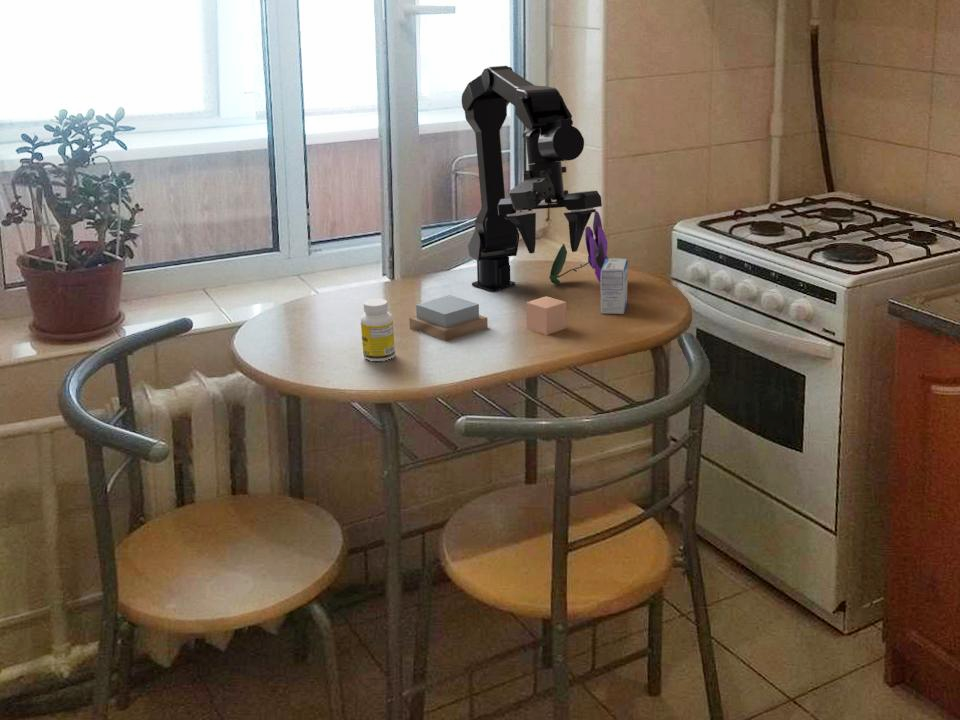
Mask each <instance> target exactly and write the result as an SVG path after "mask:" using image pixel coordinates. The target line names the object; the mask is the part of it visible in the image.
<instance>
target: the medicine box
mask: <svg viewBox="0 0 960 720" xmlns="http://www.w3.org/2000/svg"><path fill="white" fill-rule="evenodd" d="M608 258H609V257H608ZM628 269H629V260H628V258H619V257H617V258H615V257H614V258H612V257H611V258H609V259H605V262H604V265H603V267H602V270H601V282H600V314H604V315H605V314H607V315H624V314H625V312H626V309H627V308H626V307H627V304H628V276H629V275H628V274H629V273H628V271H629V270H628Z"/></svg>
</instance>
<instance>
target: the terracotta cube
mask: <svg viewBox="0 0 960 720" xmlns="http://www.w3.org/2000/svg"><path fill="white" fill-rule="evenodd" d="M525 306H526V308H525V309H526V329H527V330H531V331H533V332H536V333H540V334H543V335H546V336H548V335H551V334H553V333H557V332H560V331H561V330H565V329H567V302H566V301H564V300H560V299H557V298H553V297H550V296H547V295H546V296H542V297H539V298H537V299H533V300H530V301H527V302H526V305H525Z"/></svg>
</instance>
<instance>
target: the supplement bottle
mask: <svg viewBox="0 0 960 720" xmlns="http://www.w3.org/2000/svg"><path fill="white" fill-rule="evenodd" d="M388 305H389V304H388V301H387V300H386V299H384V298H370V299H366V300H365V301H364V302H363V311H364V313H363V314H362V316H361V317H360V329H361V331H360V333H361V341H362V353H363V358H364V359H365V360H366V359H368V360H372V361H382V360H387V361H389V360H388V359H390V360H392V359H394V358H395V356H396V347H395V345H396V344H395V333H394V332H395V330H394V318H393V314H392V313H390V312H389V311H388V310H389V306H388ZM391 358H392V359H391ZM368 360H367V361H368ZM382 362H383V361H382Z"/></svg>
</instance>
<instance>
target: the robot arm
mask: <svg viewBox="0 0 960 720" xmlns="http://www.w3.org/2000/svg"><path fill="white" fill-rule="evenodd" d="M509 104H511V105H513V106H514V107H515V109H514V115H515V117H517V118H518V120H519V121H520V122H521V124H523V126H524V127H525V128H526V129H525V130H524V131H523V133H522V138H523V139H525V142H526V151H527V153H526V154H527V163H528V170H524V173H523V181H522V182H520V183H518V184H516V186H514V187H513V188H512V189H510V190H509V191H508V195H509V197H506V191H505V181H504V180H505V179H504V178H505V177H504V169H503V167H504V166H503V154H502V153H503V152H502V144H501V143H502V142H501V129H502V127H503V125H504V123H505V121H506V118H507V117H508V105H509ZM461 106H462V109H463V111H464V118H465V120H466V122H467V123H468V124H469V126H470V127H471V129H472V131H473V132H474V133H475V143H476V144H475V145H476V147H475V148H476V156H477V167H478V180H479V191H480V202H481V203H480V204H481V208H480V210H479V212H478V214H477V216H476V219H475V220H474V232H473V234H472V236H471V237H470V240H469V243H468V244H467V248H468V255H469V257H471V258H472V259H474V260H475V261H476V269H477V274H476V275H477V276H476V277H477V279H476V280H477V281H473V282H471V286H473V287H477V288H480V289H484V290H487V291H489V292H495V291H496V292H497V291H499V290H502V289H505V288H509V287H512V286H516V282H515V281H513V280H511V265H510V257H517V254H518V249H519V241H520V236H521V237H522V241H523V243H524V244H525V246H526V249H527V251H528V253H529V254H534V253H536V252H535V251H536V235H537V233H536V229H537V227H536V225H537V220H536V219H537V213H536V212H531V211H533V210H540V209H541V210H542V209H556V208H557V209H558V208H565V209H566V210H567V211H569V212H563V216H564V217H565V218H566V220H567V222H568V230H569V243H570V249H571V252H572V253H576V252H577V251H578V249H579V247H580V244H581V241H582V238H583V235H584V233H585V229H586V227H587V225H588V222H589V220H590V218H591V216H592V214H593V213H595V212H596V211H597V209H596V208H599V207H600V208H601V207H602V206H603V203H602V196H601V195H600V193H599V192H598V190H589V191H588V190H586V191H577V192H571V193H569V190H566V189H565V188H564V179H563V178H564V177H563V174H564V173H567V166H562V162H566V161H573V160H576V159H577V158H578V157H580V155H581V154H582V152H583V150H584V147H585V138H584V136H583V135H582V132H581V131H580V130H579V128H577V127H576V126H573V125H574V124H573V123H574V121H573V115H572V113H571V112H570V110H569V108H568V106H567V105H566V103H565V101H564V98H563V96H562V95H561V93H560V91H559V90H558V89H557V88H555V87H552V86H546V85H535V84H534V83H531V82H530V81H529V80H527V79H526V78H524V77H523V76H521V75H520V74H518V73H516V72H515V71H514V70H513V68H512V67H510V66H508V65H499V66H488V67H487V68H484V69H483V70H482V72H481V74H480V75H478V76H477V77H476V78H474V79H473V80H471V81H470V82H468V83H467V84H466V87H465V88H464V90H463V93H462V94H461ZM543 201H544V202H543Z"/></svg>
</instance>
